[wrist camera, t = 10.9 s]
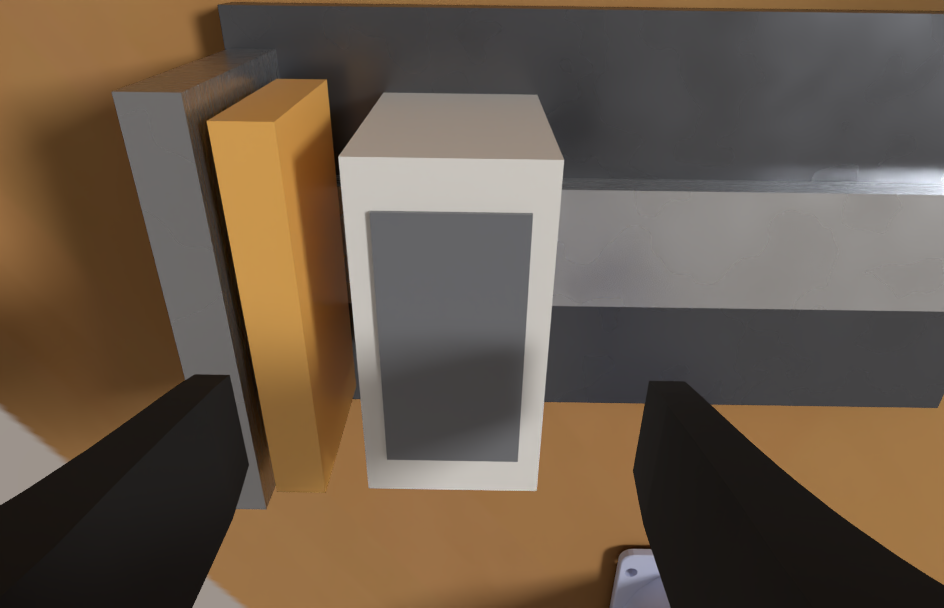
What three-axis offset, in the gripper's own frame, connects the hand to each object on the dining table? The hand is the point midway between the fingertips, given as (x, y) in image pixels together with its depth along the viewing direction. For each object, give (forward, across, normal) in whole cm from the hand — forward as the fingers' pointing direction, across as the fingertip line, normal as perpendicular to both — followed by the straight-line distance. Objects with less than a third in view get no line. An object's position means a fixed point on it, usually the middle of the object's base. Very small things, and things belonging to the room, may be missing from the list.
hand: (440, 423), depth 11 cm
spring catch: (+7, +4, 0) cm, 8 cm away
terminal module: (+8, 0, 0) cm, 8 cm away
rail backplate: (+9, -5, 0) cm, 11 cm away
